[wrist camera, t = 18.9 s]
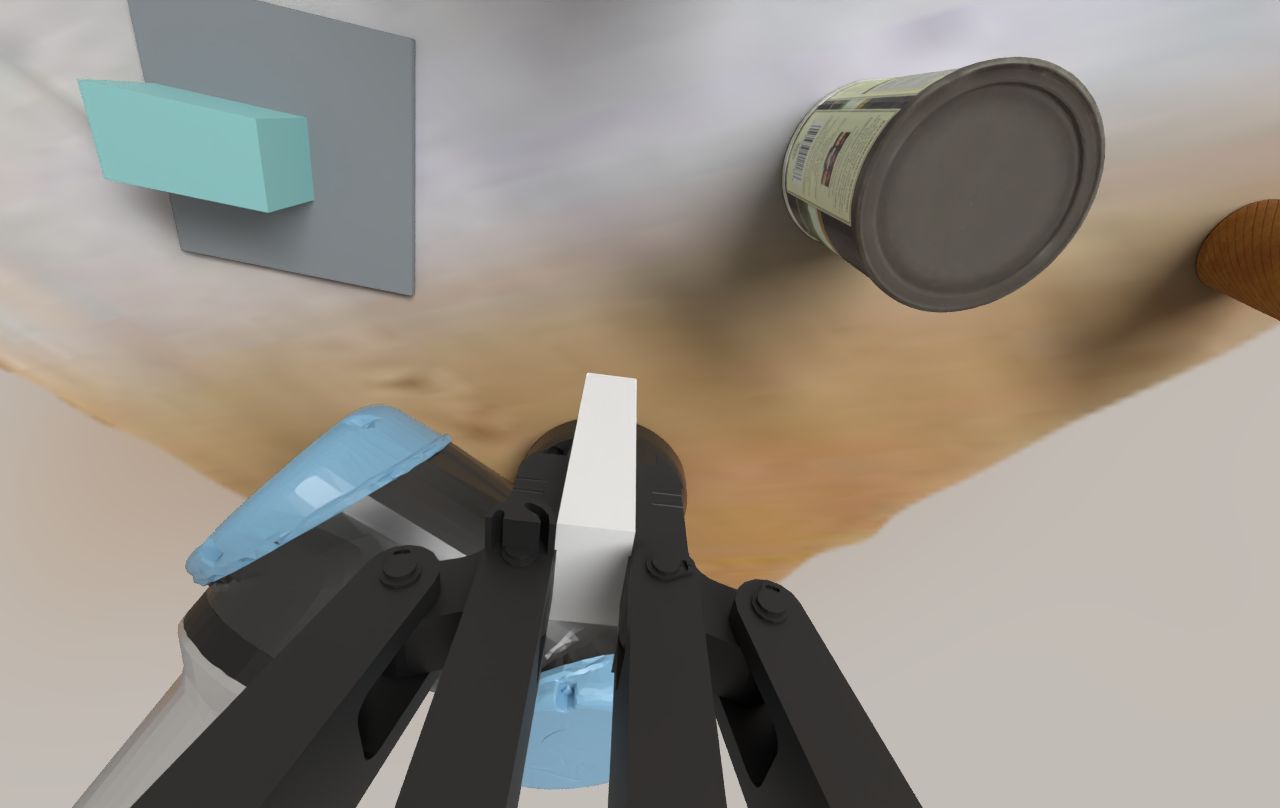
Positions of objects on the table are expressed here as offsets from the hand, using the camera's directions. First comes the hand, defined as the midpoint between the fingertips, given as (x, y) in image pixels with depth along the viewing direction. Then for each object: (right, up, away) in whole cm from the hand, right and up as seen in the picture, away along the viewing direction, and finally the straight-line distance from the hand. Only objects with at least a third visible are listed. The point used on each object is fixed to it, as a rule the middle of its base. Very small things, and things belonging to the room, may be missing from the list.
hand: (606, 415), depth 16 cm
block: (-20, +15, +16) cm, 30 cm away
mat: (-22, +17, +18) cm, 33 cm away
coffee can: (+16, +16, +19) cm, 29 cm away
